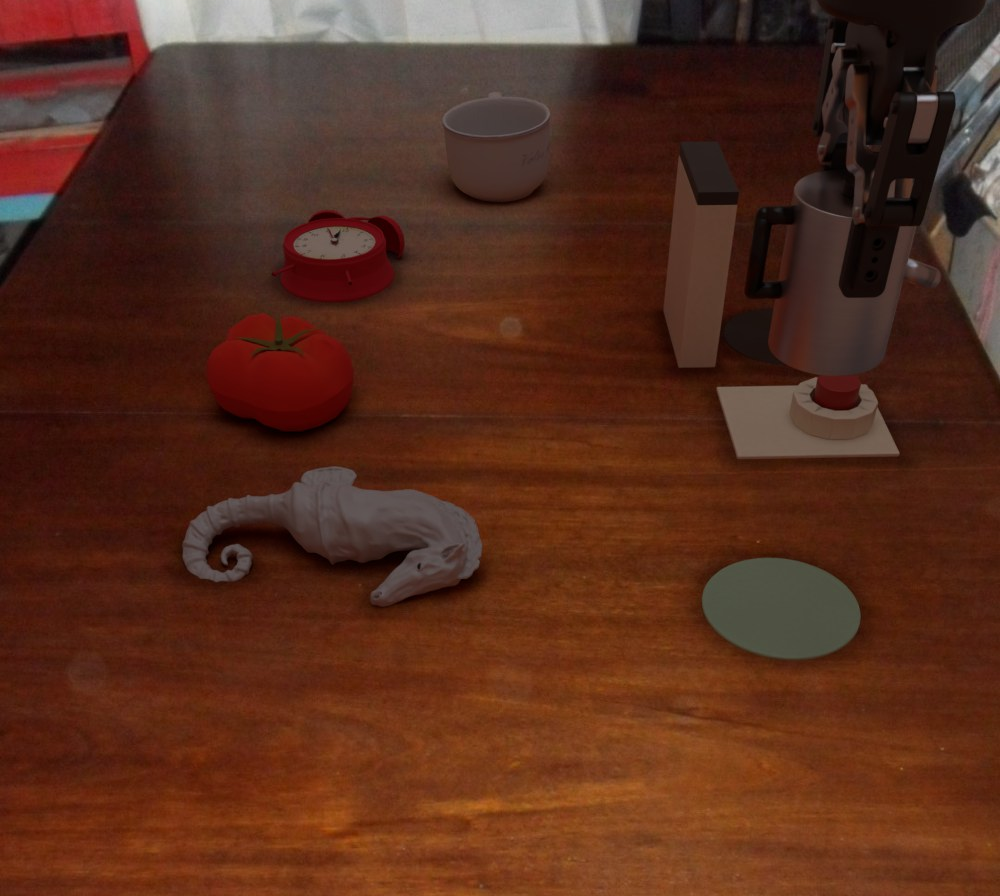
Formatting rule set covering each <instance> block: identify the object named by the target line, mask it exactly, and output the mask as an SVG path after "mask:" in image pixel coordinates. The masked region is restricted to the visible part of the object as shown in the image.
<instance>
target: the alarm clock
mask: <svg viewBox="0 0 1000 896" xmlns="http://www.w3.org/2000/svg"><path fill="white" fill-rule="evenodd" d="M405 243H406V242H405V235H404V232H403V230H402V228H401V226H400V224H399V223H398V222H397V221H396V220H395V219H393V218H391V217H389V216H387V215H376V216H372V217H364V216H353V217H352V216H351V217H347V218H346V217H345V216H344V215H343V214H341V213H340V212H338V211H335V210H332V209H323V210H319V211H316V212H315V213H313V214H312V215H311V216H310V217H309V219H308V221H307V222H305V223H302V224H299V225H297V226H296V227H293V228H292V229H290V230H289V231H288V232H287V233H286V234H285V236H284V238H283V243H282V250H283V256H284V265H283V268H281V269H278V270H277V271H276V270H273V271H272V272H271V276H272V277H277V276H278V275H279V274H280V283H281V286H282V287H283V289H284V290H285V291H286V292H288V293H289V294H290V295H292V296H294V297H297V298H299V299H303V300H306V301H311V302H318V303H328V304H329V303H332V304H333V303H347V302H355V301H359V300H363V299H366V298H370V297H372V296H375V295H377V294H379V293H381V292H383V291H384V290H386V289H387V288H388V287H390V285H391V284H393V281H394V279H395V268H394V267H393V265H392V263H391V262H390V259H389V258H388V255H387V251H389V252H392V253H395V254H397V255H398V257H397V260H399V259H400V258H401V257H402V256H403V253H404V252H405V251H404V250H405V245H406V244H405Z"/></svg>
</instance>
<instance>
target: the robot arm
mask: <svg viewBox="0 0 1000 896" xmlns="http://www.w3.org/2000/svg"><path fill="white" fill-rule="evenodd" d="M817 3H818V4H819V6H820V7H821V8H822V10H823V11H825V12H826V13H827V14H829V18H828V19H827V22H826V23H827V25H826V29H827V31H826V38H825V44H824V51H823V57H822V63H821V71H820V77H819V84H818V85H819V86H818V91H817V96H816V103H815V111H814V115H813V116H814V117H813V120H812V123H811V130H812V135H813V138H817V139H818V138H819V142H818V144H817V147H816V154H817V160H818V162H819V163H824V164H820V168H819V172H821V171H827V170H837V169H848V171H849V172H851V173H853V174H854V176H855V190H854V204H853V209H852V216H853V219H852V222H851V226H850V231H849V236H848V241H847V246H846V250H845V255H844V260H843V265H842V270H841V274H840V279H839V288H840V290H841V292H842V294H843V295H844V296H845V297H847V298H874V297H878V296H880V295H881V294H882V293H883V292H884V290H885V287H886V283H887V279H888V275H889V270H890V266H891V262H892V258H893V254H894V249H895V245H896V241H897V237H898V232H899V228H900V226H917V227H920V226H922V223H923V221H924V218H925V215H926V211H927V207H928V204H929V200H930V197H931V194H932V191H933V186H934V183H935V180H936V177H937V173H938V170H939V165H940V162H941V159H942V155H943V152H944V148H945V145H946V141H947V138H948V136H949V135H948V134H949V131H950V127H951V124H952V121H953V117H954V114H955V111H956V105H957V103H956V101H957V100H956V94H955V92H954V91H950V90H946V91H944V90H943V91H937V89H938V77H939V69H938V65H937V63H936V59H937V52H938V44H937V43H938V41H939V39H940V36H941V35H942V34H943V33H944V32H946V31H947V30H949V29H951V28H952V27H955V26H962V25H964V24H967V23H969V22H971V21H973V20H975V18H977V17H978V16H979V15H980V14H981V13H982V11H983V10H984V8H985V6H986V3H987V0H817ZM874 146H880V148H879V151H873V150H872V149H873V147H874ZM873 172H874V176H873ZM872 176H873V180H872ZM894 180H895V192H894V197H887V196H888V192H889V188H890V184H891V183H892V182H893V181H894Z"/></svg>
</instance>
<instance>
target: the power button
mask: <svg viewBox="0 0 1000 896" xmlns="http://www.w3.org/2000/svg"><path fill="white" fill-rule="evenodd" d="M817 377H818V378H817V383H816V388H815V392H814V397H813V400H814V403H816V404H817V405H819V406H820V407H823V408H827V409H830V410H834V411H846V410H851V409H853V408H854V407H855V406H856V404H857V399H858V395H859V391H860V387H861V384H862V381H861V379H860V378H859V377H858V376H857V375H849V376H825V375H818V376H817Z"/></svg>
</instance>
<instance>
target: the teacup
mask: <svg viewBox="0 0 1000 896" xmlns="http://www.w3.org/2000/svg"><path fill="white" fill-rule="evenodd" d="M551 114H552V113H551V109H549V108H548V106H547V105H545V104H544V103H542V102H541V101H537V100H534V99H532V98H527V97H520V96H519V97H518V96H503V95H502V92H499V91H492V92H489V93H488V94H487V97H482V98H475V99H473V100H469V101H464V102H462V103H459V104H457V105H455V106H453V107H451V108H450V109H448V110H447V111H446V112H445V114H443V116H442V119H441V123H442V126H443V130H444V141H445V142H444V143H445V152H446V159H447V166H448V171H449V175H450V177H451V181H452V182H453V184H454V185H455V187H456V188H457V189H459V191H461V192H462V193H464V194H465V195H467V196H469V197H471V198H473V199H476V200H479V201H485V202H493V203H505V202H513V201H514V202H515V201H518V200H521V199H522V200H523V199H525V198H527V197H528V196H530V195H532V193H533V192H534V191H535V190H536V189H537V188H538V187H539V186H540V185H541V184H542V183H544V181H545V180H546V177H547V174H548V172H549V166H550V153H551V151H550V150H551V139H550V138H551V134H550V132H551V131H550V120H551Z"/></svg>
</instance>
